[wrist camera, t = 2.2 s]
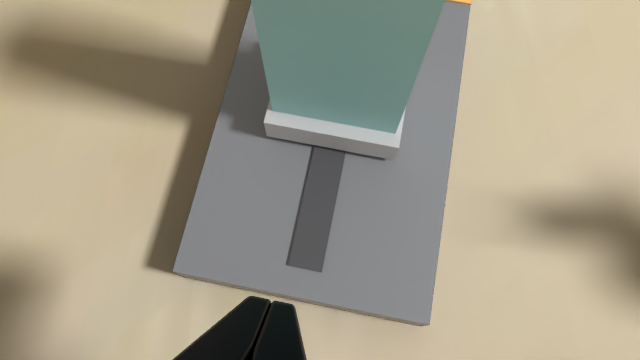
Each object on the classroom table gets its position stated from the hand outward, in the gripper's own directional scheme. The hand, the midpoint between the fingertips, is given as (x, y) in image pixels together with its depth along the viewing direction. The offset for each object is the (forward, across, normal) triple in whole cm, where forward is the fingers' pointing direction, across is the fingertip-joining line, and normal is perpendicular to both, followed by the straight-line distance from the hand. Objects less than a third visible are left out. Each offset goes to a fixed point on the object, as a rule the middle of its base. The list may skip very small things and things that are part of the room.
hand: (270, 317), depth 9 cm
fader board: (+13, 0, 0) cm, 13 cm away
